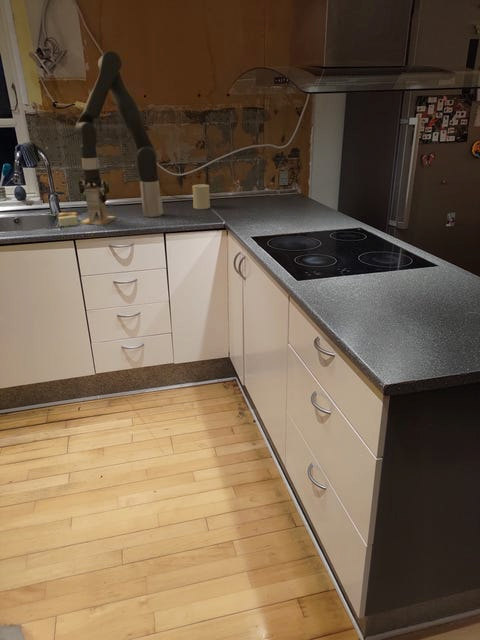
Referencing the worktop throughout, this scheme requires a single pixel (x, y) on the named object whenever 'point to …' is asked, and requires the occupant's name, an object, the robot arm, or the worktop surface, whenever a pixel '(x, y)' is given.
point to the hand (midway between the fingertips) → (96, 202)
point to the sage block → (68, 220)
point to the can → (201, 196)
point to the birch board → (106, 220)
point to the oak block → (67, 214)
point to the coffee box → (95, 203)
